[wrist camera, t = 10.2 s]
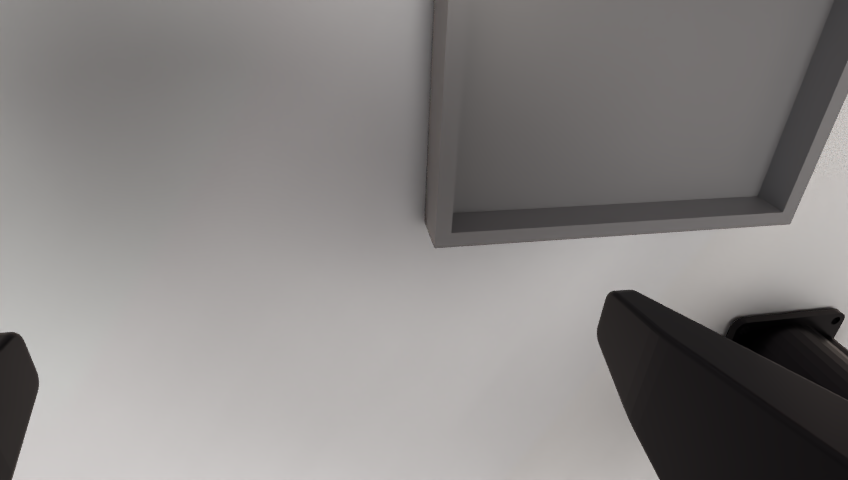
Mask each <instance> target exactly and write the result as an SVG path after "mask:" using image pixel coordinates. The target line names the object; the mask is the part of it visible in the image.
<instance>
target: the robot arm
mask: <svg viewBox="0 0 848 480" xmlns="http://www.w3.org/2000/svg"><path fill="white" fill-rule="evenodd" d="M844 318H845V316H844V314H842V313H841V312H840V311H839V310H837V309H825V310H815V311H805V312H795V313H785V314H775V315H765V316H755V317H745V318H740V319H737V320H736V321H735V322H733V323H732V325H731V327H730V329H729V331H728V334H727V336H726V337H724V336H722V335H720V334H718V333H716V332H714V331H712V330H710V329H708V328H706V327H705V326H703V325H701V324H699V323H697V322H695V321H693V320H691V319H689V318H687V317H685V316H683V315H681V314H679V313H677V312H675V311H673V310H672V309H670V308H668V307H666V306H664V305H662V304H660V303H658V302H656V301H654V300H652V299H650V298H648V297H646V296H644V295H642V294H640V293H639V292H637V291H634V290H620V291H612V292H610V293H609V294H608V295H607V297H606V299H605V303H604V306H603V310H602V313H601V317H600V320H599V324H598V328H597V338H598V342H599V345H600V348H601V350H602V353H603V355H604V358H605V361H606V363H607V366H608V368H609V371H610V373H611V376H612V379H613V381H614V384H615V386H616V389H617V391H618V394H619V396H620V399H621V402H622V404H623V407H624V409H625V411H626V414H627V416H628V418H629V421H630V423H631V425H632V427H633V429H634V431H635V433H636V435H637V437H638V439H639V441H640V443H641V444H642V446H643V448H644V450H645V452H646V454H647V456H648V458H649V460H650V462H651V464H652V466H653V468H654V470H655V472H656V473H657V475H658V477H659V479H660V480H848V350H847V349H846V348H845V347H843V346H842V345H841V344H840V343H838V342H837V341H836V340H835V339H834V337H835V335H836V333H837V331H838V329H839V328H840V326H841V324H842V322H843V320H844ZM38 387H39V378H38V374H37V371H36V368H35V366H34V363H33V361H32V359H31V356H30V354H29V351H28V349H27V347H26V344H25V342H24V340H23V338H22V337H21V336H20V335H19V334H18V333H15V332H5V333H0V480H12V477H13V474H14V471H15V467H16V464H17V461H18V457H19V454H20V450H21V447H22V444H23V440H24V437H25V433H26V430H27V427H28V423H29V420H30V416H31V413H32V410H33V406H34V403H35V399H36V396H37V393H38Z"/></svg>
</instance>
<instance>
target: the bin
mask: <svg viewBox="0 0 848 480" xmlns="http://www.w3.org/2000/svg"><path fill="white" fill-rule="evenodd" d="M847 94H848V0H434V16H433V39H432V62H431V85H430V108H429V132H428V155H427V178H426V201H425V224H426V227H427V230H428V232H429V235H430V237H431V240H432V243H433V245H434V248H443V247H458V246H473V245H488V244H503V243H518V242H533V241H547V240H562V239H577V238H592V237H607V236H622V235H637V234H652V233H666V232H681V231H696V230H711V229H726V228H741V227H756V226H771V225H786V224H790V223H791V221H792V219H793V217H794V214H795V212H796V210H797V207H798V205H799V203H800V201H801V198H802V196H803V194H804V191H805V189H806V187H807V185H808V182H809V180H810V178H811V176H812V173H813V171H814V169H815V166H816V164H817V162H818V160H819V157H820V155H821V153H822V150H823V148H824V146H825V144H826V141H827V139H828V137H829V135H830V132H831V130H832V128H833V125H834V123H835V121H836V119H837V116H838V114H839V112H840V109H841V107H842V105H843V103H844V100H845V98H846V96H847Z"/></svg>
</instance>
